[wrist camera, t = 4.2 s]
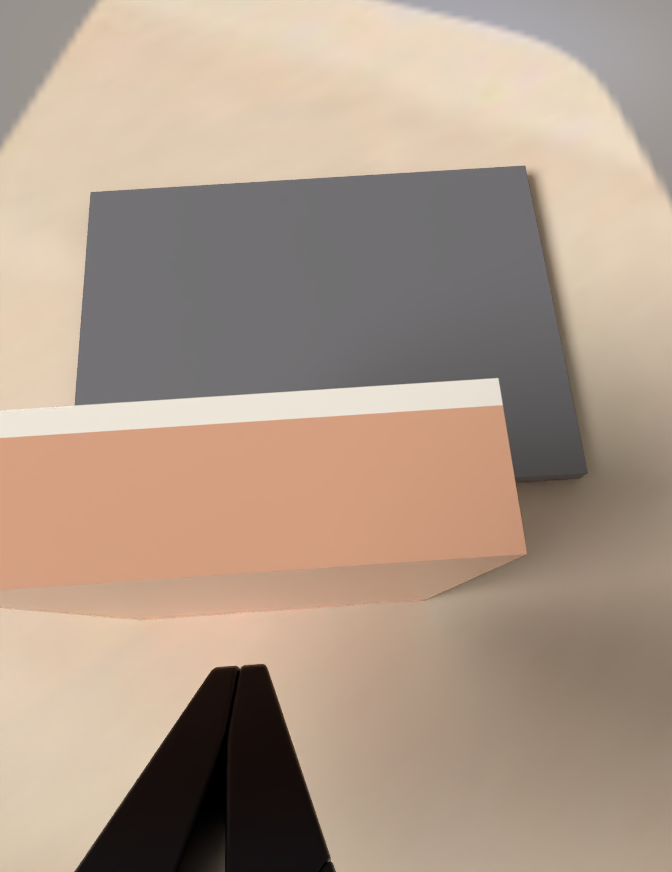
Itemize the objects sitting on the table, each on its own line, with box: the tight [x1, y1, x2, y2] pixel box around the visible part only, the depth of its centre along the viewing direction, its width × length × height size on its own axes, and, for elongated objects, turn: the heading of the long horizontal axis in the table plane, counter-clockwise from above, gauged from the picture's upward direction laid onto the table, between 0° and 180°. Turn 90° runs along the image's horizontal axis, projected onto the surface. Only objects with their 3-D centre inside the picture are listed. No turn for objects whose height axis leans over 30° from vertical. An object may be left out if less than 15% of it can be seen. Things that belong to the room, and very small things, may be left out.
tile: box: [0, 378, 527, 620], centre depth 13 cm, size 2×8×10 cm, turn 94°
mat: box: [75, 166, 588, 482], centre depth 19 cm, size 11×15×1 cm
